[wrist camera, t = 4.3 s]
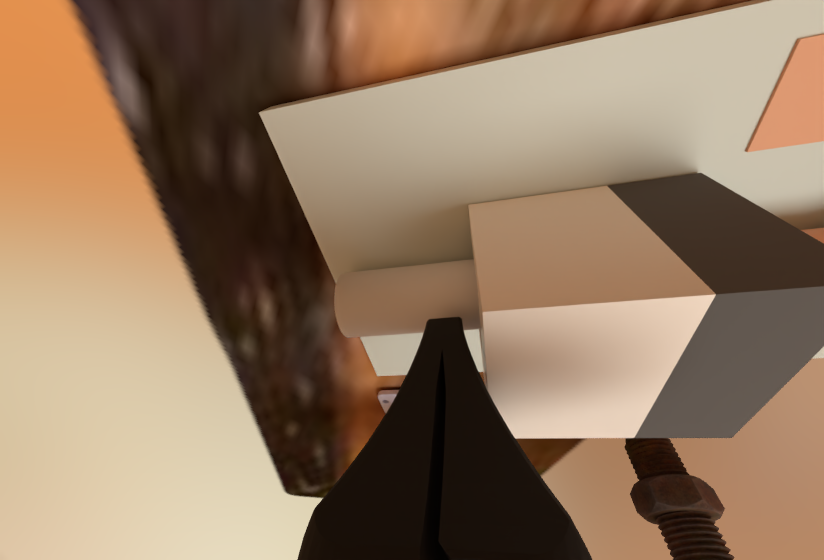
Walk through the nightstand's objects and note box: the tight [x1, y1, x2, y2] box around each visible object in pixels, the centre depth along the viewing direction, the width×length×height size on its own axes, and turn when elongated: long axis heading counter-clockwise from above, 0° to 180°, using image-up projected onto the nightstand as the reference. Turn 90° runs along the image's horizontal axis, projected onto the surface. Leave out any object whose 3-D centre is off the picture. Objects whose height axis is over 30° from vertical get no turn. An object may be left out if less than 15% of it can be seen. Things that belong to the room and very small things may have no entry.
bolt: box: [625, 438, 734, 560], centre depth 19 cm, size 6×5×15 cm
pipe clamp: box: [259, 0, 824, 376], centre depth 12 cm, size 16×26×6 cm, turn 101°
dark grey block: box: [608, 173, 824, 438], centre depth 11 cm, size 7×3×6 cm, turn 11°
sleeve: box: [468, 186, 716, 438], centre depth 12 cm, size 7×5×6 cm
